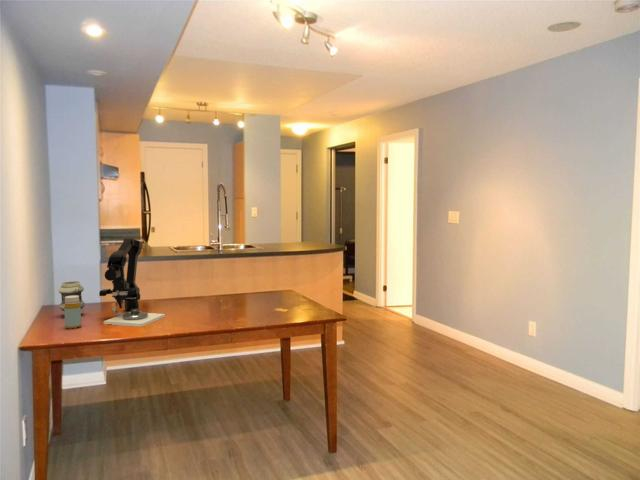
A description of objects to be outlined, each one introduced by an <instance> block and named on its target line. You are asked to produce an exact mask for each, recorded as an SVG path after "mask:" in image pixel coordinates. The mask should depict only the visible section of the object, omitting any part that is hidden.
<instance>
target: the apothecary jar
mask: <svg viewBox="0 0 640 480" xmlns="http://www.w3.org/2000/svg"><path fill="white" fill-rule="evenodd" d="M83 291H85V290H84V286H83V285H82V284H81V283H80V281H78V280H77V281H76V280H75V281H74V280H73V281H72V280H70V281H64V282H62V283H61V286H60V287H59V288H58V293H59V294H61V303H60V304H59V305H58V307H59V309H60V310H61V311H63V312H64V306H65V297H66V296H72V295H78V296H79V303H80V305H81V310H82V309H84V307H85V305H86V304H85V301H83V299H82V292H83ZM83 314H84V313H82V312H81V317H82V316H83ZM63 317H65V313H64V314H63V315H62V317H61V318H63Z"/></svg>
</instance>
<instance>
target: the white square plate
mask: <svg viewBox="0 0 640 480" xmlns="http://www.w3.org/2000/svg"><path fill="white" fill-rule="evenodd" d="M127 313H130V312H127ZM147 313H148V316H147V317H146V318H142V319H134V320H128V319H123V315H122V314H119V315H117V316H115V317H112V318H111V317H110V318H109V319H106V320H104V321H103V325H107V324H112V326H123V327H124V326H125V327H139V328H141V327H142V328H143V327H144V326H147V325H149V324H152V323H154V322H156V321H158V320H161V319H163V318H165V317H166V314H165V313H155V312H153V313H152V312H151V313H150V312H147Z"/></svg>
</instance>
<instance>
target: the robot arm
mask: <svg viewBox="0 0 640 480" xmlns="http://www.w3.org/2000/svg"><path fill="white" fill-rule="evenodd" d="M142 249H143V243H142V242H141V241H140V240H137V239H135V238H132V237H126V238H123V241H122V243H121V244H120V246H119V248H118V249H117V250H116V251H114V252H112V253H111V254H110V256H109V258H108V262H107V264H106V268H107V270H106V271H105V272H104V278H105V280H107V281H110V282H111V284H112V290H111V288H105V289H101V290H99V294H98V295H99V297H106V296H107V295H112V296H111V297H112V298H114V300H115V301H116V303H117V305H118V306H119V309H122V308H123V304H124V310H122V312H124V313H128V312H131V309H139V311H141V309H140V307H139V306H140V305H139V301H140V300H141V293H140V288H139V287H138V285H137V284H136V278H137V269H138V268H137V266H138V258H139V256H140V254H141V253H142ZM127 255H128V257H127ZM127 261H128V262H127ZM126 263H127V264H126ZM126 265H127V271H126V278H125V266H126ZM123 302H124V303H123Z"/></svg>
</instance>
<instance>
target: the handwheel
mask: <svg viewBox="0 0 640 480" xmlns="http://www.w3.org/2000/svg"><path fill="white" fill-rule="evenodd" d="M139 309H140V308H139ZM139 309H131V312H130V313H128V312H124V311H122V312H121V311H120V312H119V311H118V302H112V303H111V314H112V315H123V319H128V320H134V319H142V318H146V317H147V316H148V313H149V312H146V311H141V310H139Z"/></svg>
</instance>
